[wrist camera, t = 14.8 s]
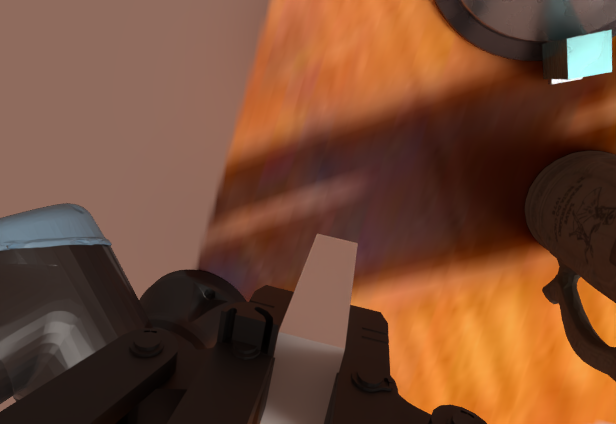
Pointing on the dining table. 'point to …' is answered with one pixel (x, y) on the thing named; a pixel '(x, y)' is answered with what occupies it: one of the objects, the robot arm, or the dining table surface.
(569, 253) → the beer stein
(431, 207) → the dining table surface
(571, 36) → the turntable
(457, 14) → the base plate
